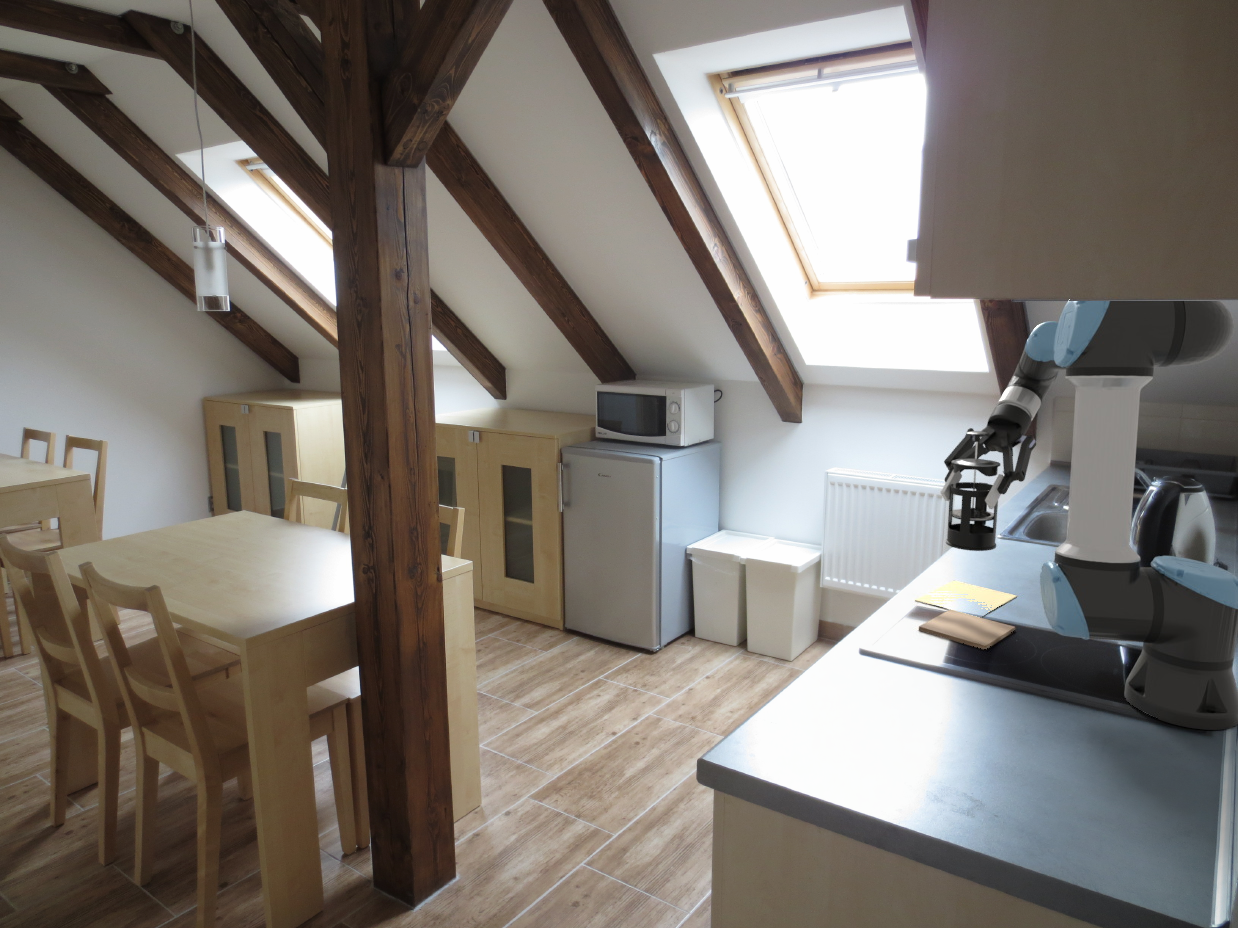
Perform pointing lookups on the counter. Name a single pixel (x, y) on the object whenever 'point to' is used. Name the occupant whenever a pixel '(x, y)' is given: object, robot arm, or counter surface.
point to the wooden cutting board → (967, 629)
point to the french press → (977, 533)
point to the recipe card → (970, 595)
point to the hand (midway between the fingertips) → (966, 500)
